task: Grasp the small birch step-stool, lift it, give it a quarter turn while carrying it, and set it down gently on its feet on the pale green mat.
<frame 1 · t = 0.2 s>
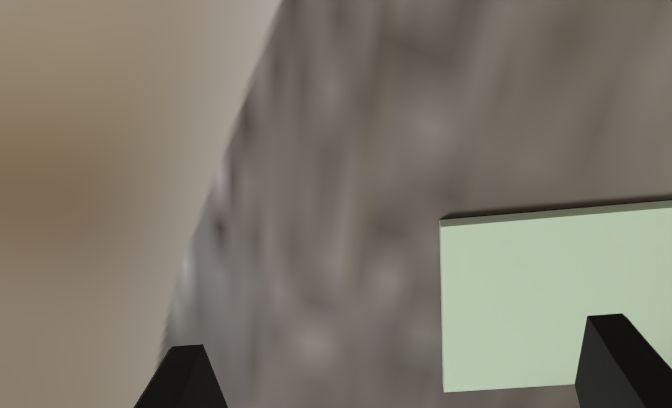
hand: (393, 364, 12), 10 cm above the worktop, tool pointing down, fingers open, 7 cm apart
mat: (564, 303, 25), on the worktop
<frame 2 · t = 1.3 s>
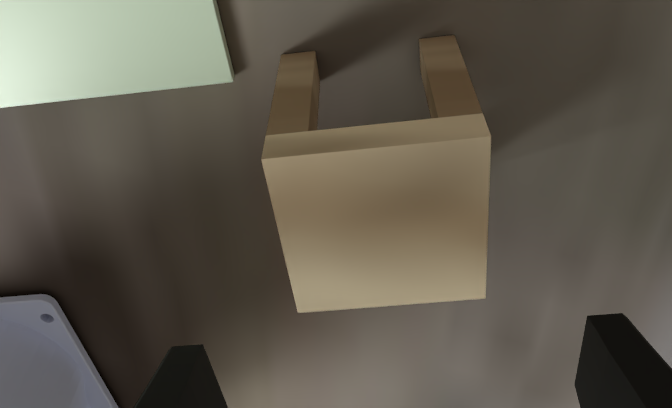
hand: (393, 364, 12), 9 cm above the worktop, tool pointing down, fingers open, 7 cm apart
stool: (374, 120, 19), on the worktop
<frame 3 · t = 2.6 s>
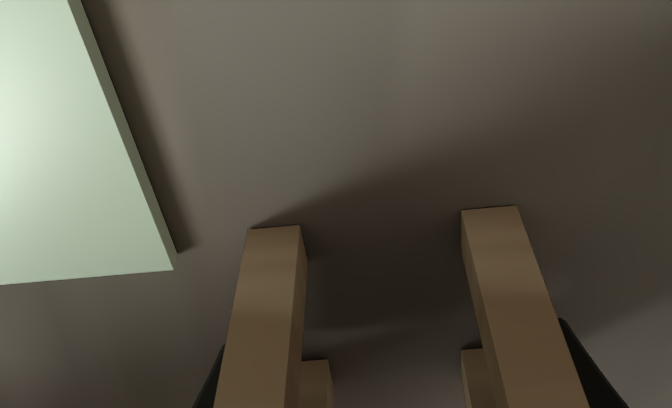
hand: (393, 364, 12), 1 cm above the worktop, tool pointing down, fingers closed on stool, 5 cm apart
stool: (389, 309, 13), on the worktop, touching gripper
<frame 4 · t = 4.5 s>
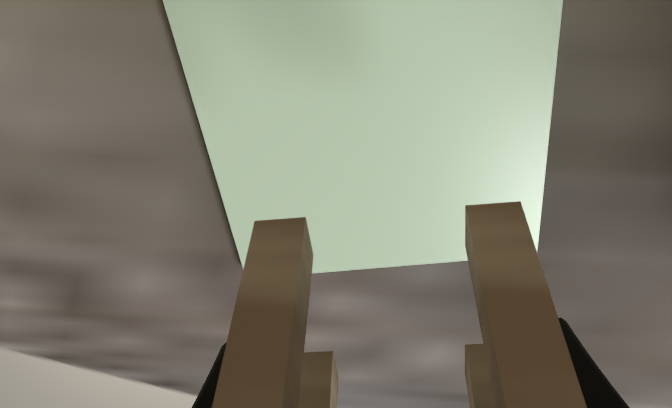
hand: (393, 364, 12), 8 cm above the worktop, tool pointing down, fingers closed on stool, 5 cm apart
stool: (393, 302, 13), point 7 cm above the worktop, touching gripper
mat: (375, 137, 18), on the worktop
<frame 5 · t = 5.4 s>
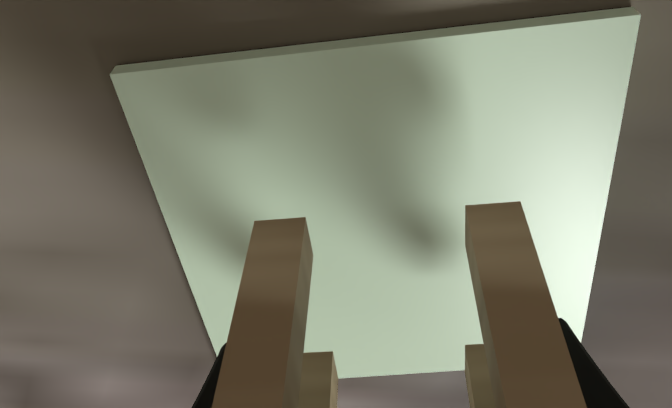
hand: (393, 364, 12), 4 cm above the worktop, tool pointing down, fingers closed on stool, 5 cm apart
stool: (393, 302, 13), point 2 cm above the worktop, touching gripper
mat: (384, 233, 15), on the worktop
when the fingers open (3 cm above the worktop, at t = 6.3 s): stool stays where it is, resting on mat.
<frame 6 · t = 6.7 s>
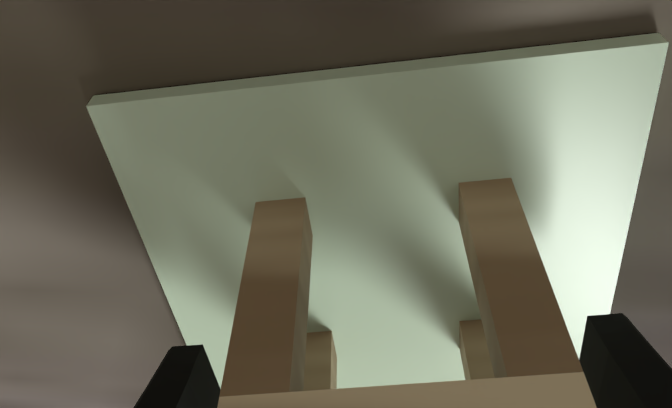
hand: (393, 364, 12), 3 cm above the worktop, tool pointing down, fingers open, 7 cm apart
stool: (390, 280, 13), resting on mat
mat: (386, 269, 14), on the worktop
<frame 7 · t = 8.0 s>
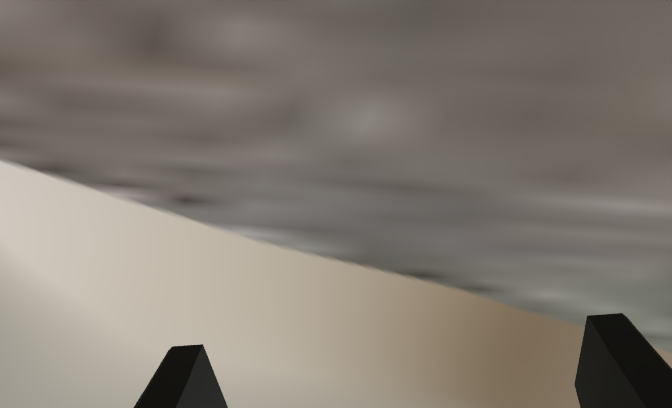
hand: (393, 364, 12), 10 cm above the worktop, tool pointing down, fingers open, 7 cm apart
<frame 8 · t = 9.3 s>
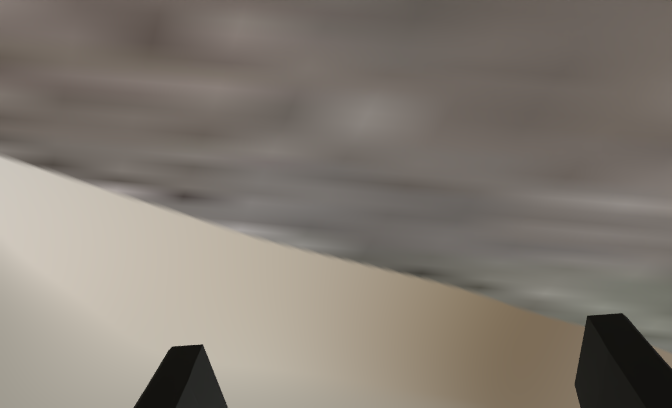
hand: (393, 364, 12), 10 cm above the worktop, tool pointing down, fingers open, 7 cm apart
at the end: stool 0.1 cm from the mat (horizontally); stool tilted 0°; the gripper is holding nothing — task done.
